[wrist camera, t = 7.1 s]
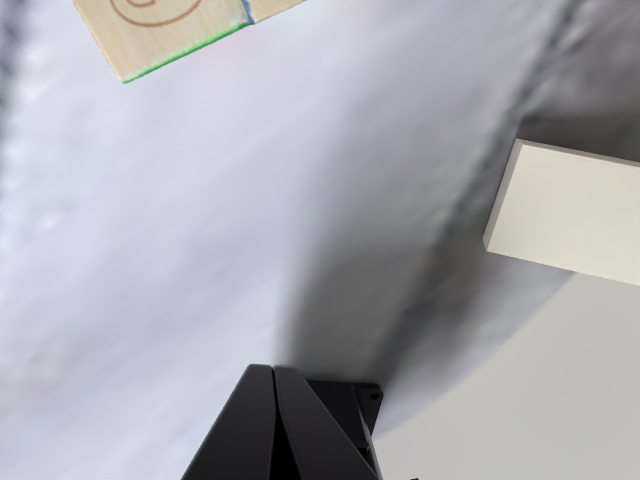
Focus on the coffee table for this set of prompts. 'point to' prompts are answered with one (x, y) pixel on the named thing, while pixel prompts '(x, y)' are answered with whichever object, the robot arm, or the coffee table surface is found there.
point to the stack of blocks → (166, 28)
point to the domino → (568, 211)
